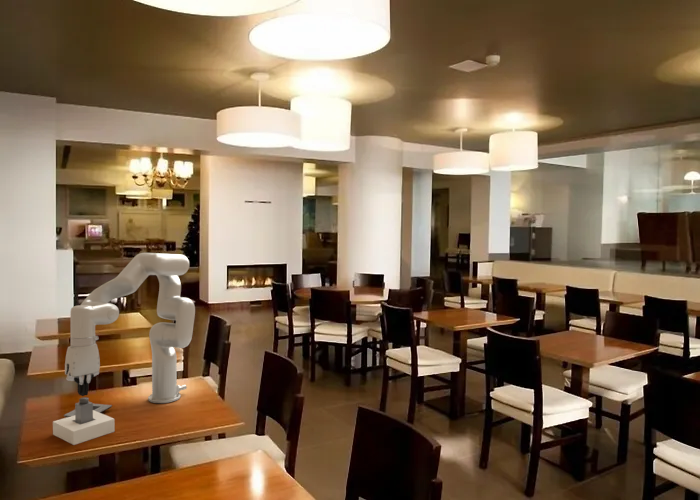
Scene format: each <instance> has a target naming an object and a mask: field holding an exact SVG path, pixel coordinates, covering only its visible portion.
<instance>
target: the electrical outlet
mask: <svg viewBox="0 0 700 500" xmlns="http://www.w3.org/2000/svg"><path fill="white" fill-rule="evenodd" d="M112 407H113V405H112V404H102V403H93V410H94V411H97V412H99V413H102V414H103V412H105V411H107V410H109V409H111V408H112ZM74 415H75V409H73V410H71V411H69V412H67V413H65V414H63V417H64V418H67V417H71V416H74Z"/></svg>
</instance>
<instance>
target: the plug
mask: <svg viewBox="0 0 700 500" xmlns="http://www.w3.org/2000/svg"><path fill="white" fill-rule="evenodd" d="M89 399H90V398H89V397H87V396H82V397H81V398H79V401H78V402H75V404H74V406H75V407H74V410H75V423H78V424H83V423H87V422H90V421H93V404H94V403H93V402H91V401H89Z"/></svg>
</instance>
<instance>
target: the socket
mask: <svg viewBox="0 0 700 500" xmlns="http://www.w3.org/2000/svg"><path fill="white" fill-rule="evenodd" d="M115 426H116V425H115V418H113V417H112V416H109V415H107V414H104V413H103V412H102V413H99V412H97V411H94V410H93V421H90V422H87V423H83V424H78V423H75V415H74V416H71V417H64V418H60V419H57V420H56V419H55V420H53V421H52V435H53V436H55V437H57V438H59V439H61V440H63V441H65V442H67V443H69V444H71V445H73V446H75V445H78V444H81V443H84V442H87V441H90V440H93V439H97V438H99V437H102V436H105V435H108V434H112V433H114V432H115Z"/></svg>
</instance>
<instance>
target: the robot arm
mask: <svg viewBox="0 0 700 500" xmlns="http://www.w3.org/2000/svg"><path fill="white" fill-rule="evenodd" d="M189 269H190V260H189V259H188V256H186V255H185V254H179V253H163V252H162V253H161V252H160V253H159V252H157V253H156V252H141V253H138V254H136V255H135V256H134V257H133V258H132V259H131V260H130V261H129V262H128V264H127V265H126V266H125V267H124V268H123V269H122V270H121V271H120V273H119V274H118V275H117V276H116V277H114V278H113V279H111V280H109V281H107V282H105V283H103V284H102V285H100V286H98V287H97V288H95V289H93V291H91V292H90V293H89V294H88V295H87V296H86V298H85V299H84V300H83V301H82V302H81V304H80V305H79V304H78V305H75V306H72V307H71V309H70V346H67V349H66V354H65V362H64V375H66V377H65V379H66V381H68V382H75V383H76V384H77V394H78V395H79V396H82V397H86V396H89V390H90V389H89V388H90V386H89V384H90V383H91V381H92V379H93V378H94V377H96V376H97V375H98V376H99V374H100V368H101V362H100V360H101V359H100V352H99V348H98V344H97V341H98V340H99V336H98V335H96V326H97V325H110V324H112V323H114V322H116V321H117V320H118V318H119V315H120V310H119V307H118V306H117V305H115V304H113V303H111V301H113V300H115V299H119V298H122V297H125V296H128V295H131V294H133V293H135V292H136V291H137V290H138V289H139V287H141V285H142V284H143V283H144V282H145V280H147V278H148V277H149V276H156V277H157V280H158V283H159V289H158V290H159V291H158V297H157V303H156V304H157V305H156V314H157V317H159V318H161V319H165V320H170V321H175V323H173V322H164V321H163V322H161V321H160V322H157V323H155V324H153V325H152V326H151V328H150V329H149V335H148V336H149V342H150V343H149V344H150V347H151V348H150V349H151V379H152V381H151V383H152V386H151V391H152V392H151V394H149V395H148V398H147V400H148V402H150V403H153V404H168V403H172V402H176V401H178V400H180V398H181V393H180V392H181V391H184V390H187V388H188V387H187V385H186V384H182V385H180V384H177V382H178V381H177V376H178V375H177V372H178V371H177V370H178V369H177V364H178V363H177V362H178V361H177V359H178V357H177V351H176V349H184V348H186V347H188V346H189V345H190V343H191V341H192V337H193V333H194V332H193V331H194V325H195V317H196V315H195V314H196V306H195V303H194V301H193V300H192V299H190V298H189V297H183V296H181V292H182V284H181V280H180V277H179V276H183V275H185V274H186V273H187V272H188V270H189Z"/></svg>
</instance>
